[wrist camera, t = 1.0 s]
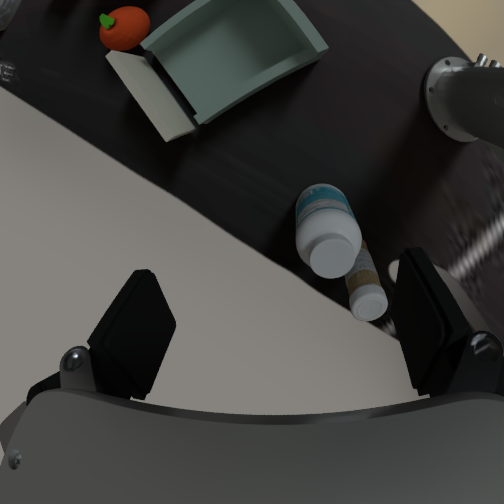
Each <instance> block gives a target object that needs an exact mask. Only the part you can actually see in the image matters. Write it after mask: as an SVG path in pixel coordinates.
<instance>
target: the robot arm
mask: <svg viewBox="0 0 504 504" xmlns="http://www.w3.org/2000/svg"><path fill="white" fill-rule="evenodd" d="M487 60H488V59H487V57H486V56H485V55H483V54H479V56H478V58H477V61H476V63H475V62H474V63H469V62H468V61H466V60H464V59H461V58H458V57H445V58H441V59H439V60H437V61H435V62H434V63H433V64H432V65H431V66H430V68H429V70H428V71H427V74H426V77H425V82H424V97H425V103H426V106H427V109H428V112H429V114H430V116H431V118H432V120H433V121H434V123H435V124H436V126H437V127H438V128H439V129H440V130H441V131H442V132H443V133H444V134H445V135H447V136H448V137H450V138H452V139H454V140H457V141H460V142H472V141H475V140H477V139H479V138H480V139H482V140H484V141H487V142H489V143H492V144H494V145H496V146H498V147H500V148H503V149H504V68H502V67H501V65H500V64H499V63H498V62H497V61H495V60H492V61H491V63H490V65H489V67H484V66H485V64H486V62H487ZM445 63H446V64H445ZM429 89H430V91H429ZM391 316H392V320H393V323H394V326H395V329H396V332H397V335H398V338H399V341H400V344H401V348H402V351H403V354H404V358H405V361H406V364H407V368H408V372H409V376H410V379H411V384H412V387H413V388H414V389H417V391H418V395H419V396H422V395H426V394H429V395H430V398H426V399H421V400H416V401H411V402H406V403H401V404H395V405H389V406H383V407H376V408H370V409H362V410H355V411H346V412H335V413H323V414H305V415H244V414H226V413H213V412H203V411H194V410H186V409H178V408H172V407H165V406H159V405H153V404H148V403H142V402H137V401H133V400H130V398H131V396H132V397H133V398H135V399H139V400H145V397H146V395H147V394H148V393H150V391H151V389H152V386H153V384H154V381H155V378H156V376H157V373H158V371H159V368H160V366H161V363H162V360H163V358H164V356H165V353H166V351H167V348H168V346H169V343H170V341H171V338H172V336H173V334H174V331H175V328H176V321H175V319H174V317H173V314H172V312H171V310H170V309H169V306H168V304H167V302H166V299H165V297H164V295H163V292H162V290H161V288H160V286H159V283H158V281H157V279H156V276H155V274H154V273H151V271H150V270H148V269H143V270H135V271H134V272H133V274H132V275H131V276H130V278H129V279H128V280H127V282H126V283H125V285H124V286H123V287H122V289H121V291H120V292H119V293H118V295H117V296H116V298H115V299H114V300H113V302H112V304H111V305H110V307H109V308H108V309H107V311H106V312H105V314H104V316H103V317H102V318H101V320H100V321H99V323H98V325H97V326H96V328H95V329H94V331H93V333H92V334H91V336H90V337H89V339H88V340H87V343H88V344H89V346H90V349H89V350H88V349H87V348H86V347H84V346H77V347H73V348H71V349H70V350H68V351H67V352H66V353H65V354H64V356H63V357H62V359H61V361H60V371H59V372H57V373H55V374H53V375H51V376H49V377H48V378H46V379H44V380H42V381H40V382H39V383H37V384H35V385H34V386H32V387H31V388H30V390H29V392H28V395H27V400H26V402H27V403H26V402H25V401H24V402H23V403H22V404H21V405H20V406H19V407H17V409H15V410H14V411H13V412H12V413H11V414H10V415H9V416H8V417H7V418H6V419H5V420H4V421H3V422H2V423H1V425H0V442H1V445H2V448H3V451H4V453H5V454H4V457H3V460H2V462H1V466H0V504H504V356H503V352H504V349H503V346H502V343H501V341H500V340H499V338H498V337H496V336H495V335H494V334H493V333H491V332H489V331H485V330H478V331H476V332H472V330H471V328H470V326H469V324H468V322H467V320H466V318H465V316H464V315H463V313H462V311H461V309H460V307H459V306H458V304H457V302H456V300H455V299H454V297H453V295H452V294H451V292H450V290H449V289H448V287H447V285H446V284H445V282H444V281H443V280H442V278H441V277H440V275H439V274H438V272H437V271H436V269H435V267H434V266H433V264H432V263H431V261H430V260H429V258H428V257H427V255H426V254H425V253H424V251H423V250H422V248H421V247H415V248H406V249H405V251H404V253H401V254H400V260H399V267H398V273H397V279H396V285H395V291H394V296H393V301H392V306H391Z"/></svg>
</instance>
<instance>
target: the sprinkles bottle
mask: <svg viewBox="0 0 504 504" xmlns="http://www.w3.org/2000/svg"><path fill="white" fill-rule="evenodd" d="M345 280H346V285H347V288H348V291H349V296H350V300H349V303H350V308H351V313H352V315H353V316H354V317H355V318H356V319H358V320H360V321H372V320H375V319H377V318H379V317H380V316H381V315H382V314H384V312H385V311H386V309H387V306H388V302H387V298H386V295H385V292H384V290H383V289H382V287H381V284H380V282H379V277H378V274H377V272H376V269H375V266H374V263H373V261H372V258H371V256H370V254H369V252H368V249H367V245H366V242H365V241H364V240H363V239H362V244H361V248H360V251H359V253H358V255H357V257H356V258H355V262H354V265H353V267H352V268H351V270H350V271H349V272H347V273H346V274H345Z"/></svg>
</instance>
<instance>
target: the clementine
mask: <svg viewBox="0 0 504 504" xmlns="http://www.w3.org/2000/svg"><path fill="white" fill-rule="evenodd" d="M100 22H101V27H100V39H101V41H102V43H103V44H104V45H105V46H106V47H107V48H109V49H111V50H115V51H124V50H129V49H132V48H134V47H135V46H137V45H139V44H140V43H141V42H142V41H143V40H144V39H145V38H146V36H147V34H148V32H149V29H150V19H149V17H148V14H147V13H146V12H145V11H144V10H142V9H140V8H138V7H133V6H126V7H122V8H118V9H116V10H114V11H113V12H111V13H110V14H109V15H108V16H107V15H105V14H103V13H102V14H101V16H100Z"/></svg>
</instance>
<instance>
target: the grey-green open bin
mask: <svg viewBox="0 0 504 504" xmlns="http://www.w3.org/2000/svg"><path fill="white" fill-rule="evenodd" d="M140 44H141V45H142V47H143V48H144V49H145V50H150V51H153V54H154V55H155V56H156V58H157V59H158V60H159V62H160V63H161V64H162V66H163V67H164V68H165V70H166V71H167V72H168V74H169V75H170V76H171V78H172V79H173V81H174V82H175V83H176V85H177V86H178V87H179V89H180V90H181V91H182V93H183V94H184V96H185V97H186V98H187V100H188V101H189V103H190V104H191V105H192V107H193V108H194V110H195V111H196V112H197V114H196V115H195V116H194V118H195V119H196V121H197V122H198V123H199V125H200V124H202V123H204V124H208V123H209V122H211V121H212V120H213V119H215V118H216V117H218V116H219V115H221V114H222V113H224V112H226V111H227V110H229V109H230V108H232V107H233V106H235V105H237V104H238V103H240V102H241V101H243V100H245V99H246V98H248V97H250V96H251V95H253V94H255V93H256V92H258V91H260V90H262V89H263V88H265V87H267V86H269V85H270V84H272V83H274V82H276V81H278V80H279V79H281V78H283V77H285V76H287V75H289V74H291V73H293V72H295V71H297V70H299V69H301V68H303V67H305V66H307V65H309V64H311V63H313V62H315V61H317V60H319V59H321V57H322V56H323V55H324V53H325V52H326V51H327V49H328V48H329V47H328V46H327V44H326V43H325V42H324V40H323V39H322V37H321V36H320V35H319V33H318V32H317V30H316V29H315V28H314V26H313V25H312V24H311V22H310V21H309V20H308V18H307V17H306V16H305V15H304V13H303V12H302V11H301V10H300V8H299V7H298V6H297V5H296V3H295V2H294V1H293V0H196V1H194V2H193V3H191V4H190V5H188V6H187V7H185V8H184V9H183V10H181V11H180V12H178V13H177V14H176V15H174V16H173V17H172V18H170V19H169V20H168V21H166V22H165V23H164V24H162V25H161V26H160V27H159V28H157V29H156V30H155V31H154V32H153V33H151V34H150V35H149V36H148V37H147V38H145V39H144V40H143V41H142V42H141V43H140Z"/></svg>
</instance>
